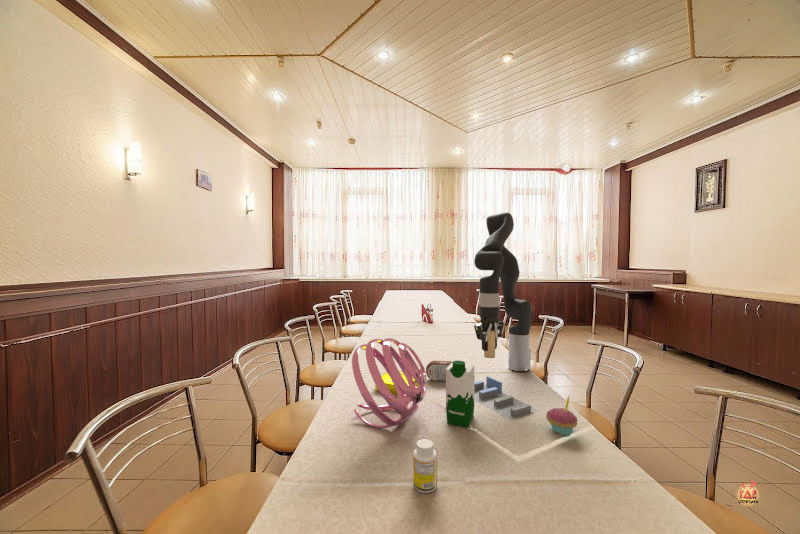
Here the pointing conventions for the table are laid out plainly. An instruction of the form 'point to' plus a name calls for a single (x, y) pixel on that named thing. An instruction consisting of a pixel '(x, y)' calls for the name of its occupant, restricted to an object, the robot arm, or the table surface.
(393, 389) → the element tile
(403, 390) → the spiral basket
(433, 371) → the tin
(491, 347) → the yellow bottle
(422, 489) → the supplement bottle
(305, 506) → the table surface
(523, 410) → the slotted grey board
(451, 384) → the milk carton
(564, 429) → the cupcake
